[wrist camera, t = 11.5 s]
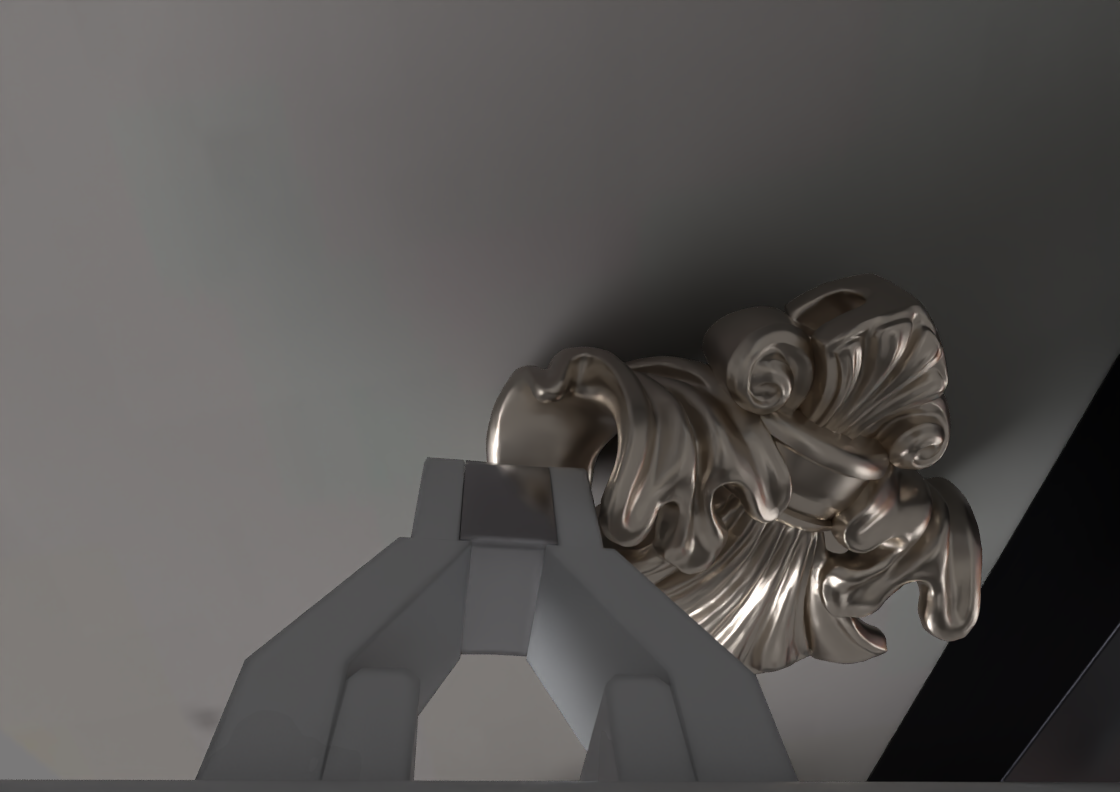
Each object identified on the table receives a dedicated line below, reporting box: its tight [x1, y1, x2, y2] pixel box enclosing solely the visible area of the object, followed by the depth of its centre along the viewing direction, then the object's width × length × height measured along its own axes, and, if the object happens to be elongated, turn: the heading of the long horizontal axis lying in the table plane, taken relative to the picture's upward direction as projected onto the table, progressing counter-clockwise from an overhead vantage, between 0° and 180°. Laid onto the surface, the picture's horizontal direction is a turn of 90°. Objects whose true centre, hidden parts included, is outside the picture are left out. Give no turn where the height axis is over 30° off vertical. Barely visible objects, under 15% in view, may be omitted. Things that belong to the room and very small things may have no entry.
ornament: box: [486, 273, 982, 675], centre depth 10 cm, size 8×7×4 cm
